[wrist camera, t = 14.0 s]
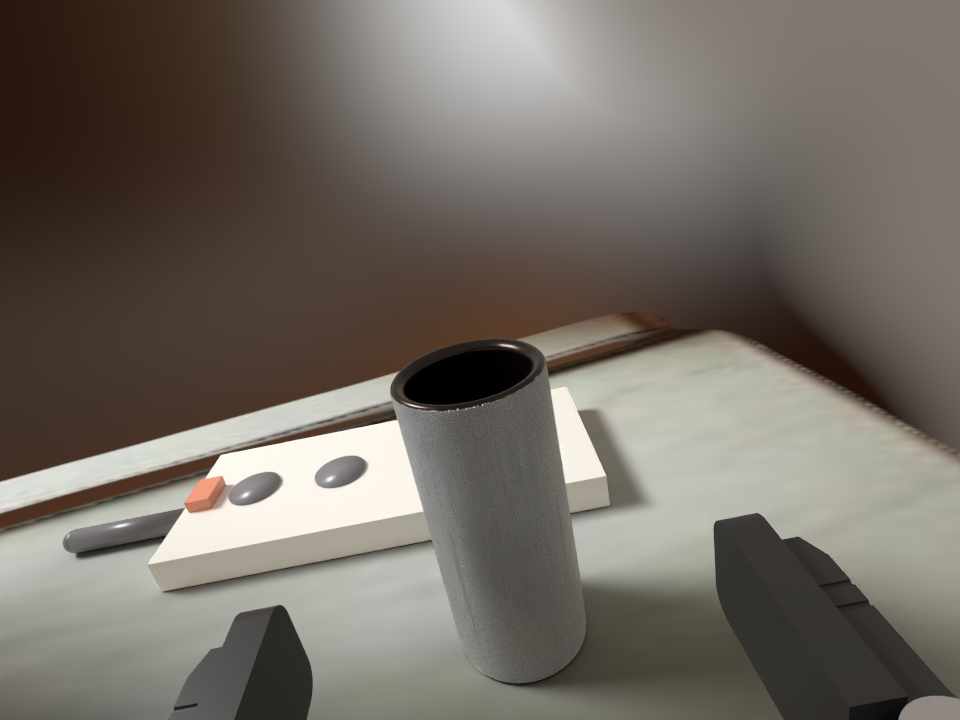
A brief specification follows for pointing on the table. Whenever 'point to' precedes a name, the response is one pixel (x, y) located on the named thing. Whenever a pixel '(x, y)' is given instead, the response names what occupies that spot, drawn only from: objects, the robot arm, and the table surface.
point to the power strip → (313, 504)
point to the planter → (495, 503)
